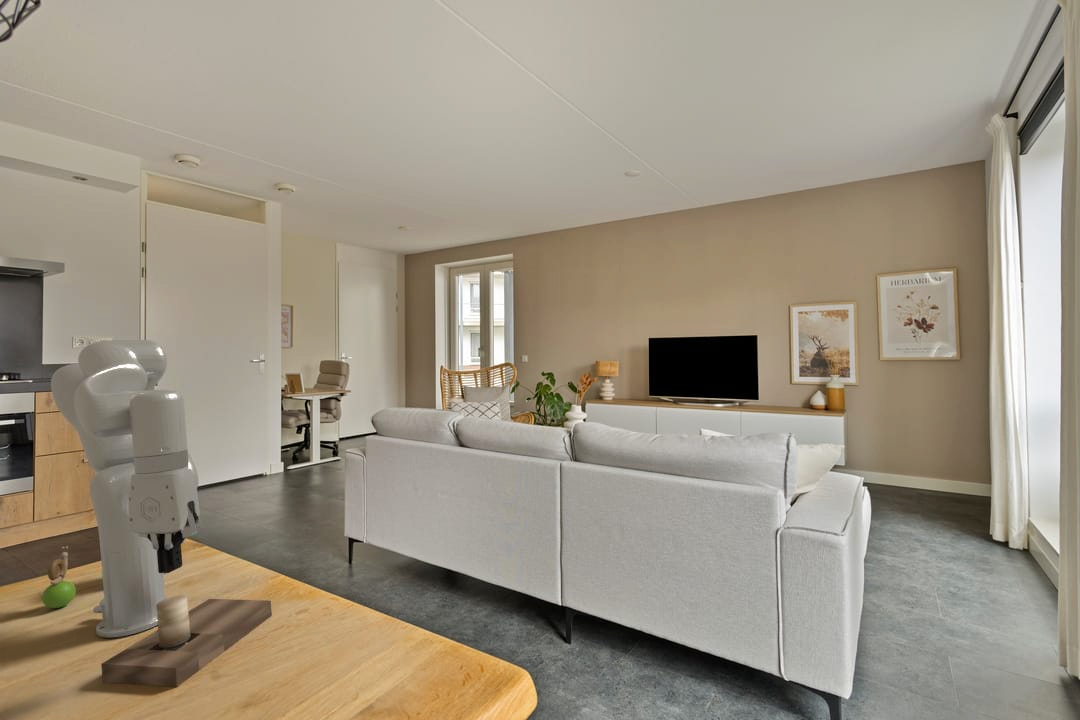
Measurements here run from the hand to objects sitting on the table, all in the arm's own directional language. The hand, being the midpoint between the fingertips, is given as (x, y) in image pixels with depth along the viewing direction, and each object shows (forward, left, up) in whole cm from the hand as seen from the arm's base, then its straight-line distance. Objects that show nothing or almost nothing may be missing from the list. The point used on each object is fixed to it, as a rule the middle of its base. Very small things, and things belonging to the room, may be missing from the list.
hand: (170, 569), depth 90 cm
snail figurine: (-45, +16, -16) cm, 51 cm away
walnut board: (0, +4, -16) cm, 16 cm away
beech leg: (0, 0, -16) cm, 16 cm away
